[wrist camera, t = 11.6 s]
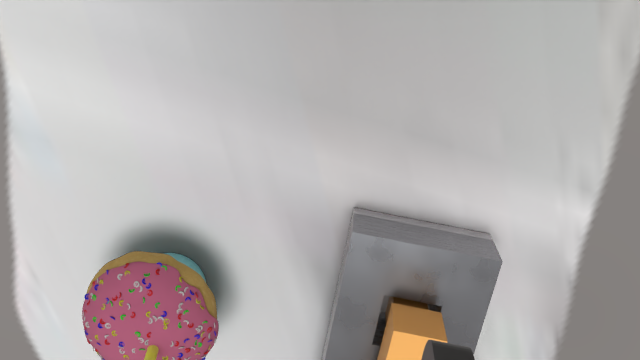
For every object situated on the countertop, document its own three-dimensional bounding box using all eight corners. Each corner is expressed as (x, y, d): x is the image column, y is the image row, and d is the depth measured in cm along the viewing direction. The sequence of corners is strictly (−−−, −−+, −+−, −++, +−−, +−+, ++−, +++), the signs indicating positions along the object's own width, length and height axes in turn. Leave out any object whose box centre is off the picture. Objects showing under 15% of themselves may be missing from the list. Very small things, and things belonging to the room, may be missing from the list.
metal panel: (353, 207, 40) (352, 232, 36) (489, 233, 40) (502, 261, 36) (307, 426, 46) (301, 467, 42) (425, 449, 46) (430, 492, 42)
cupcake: (254, 271, 42) (212, 381, 30) (195, 356, 44) (136, 487, 33) (146, 204, 41) (60, 293, 30) (91, 295, 43) (-6, 409, 32)
